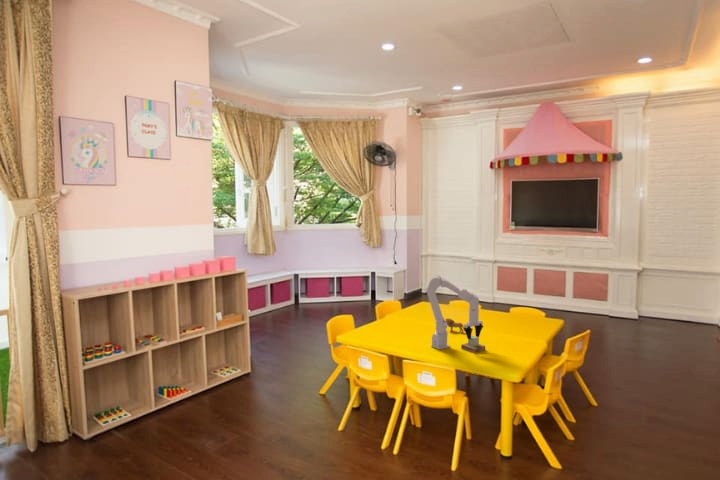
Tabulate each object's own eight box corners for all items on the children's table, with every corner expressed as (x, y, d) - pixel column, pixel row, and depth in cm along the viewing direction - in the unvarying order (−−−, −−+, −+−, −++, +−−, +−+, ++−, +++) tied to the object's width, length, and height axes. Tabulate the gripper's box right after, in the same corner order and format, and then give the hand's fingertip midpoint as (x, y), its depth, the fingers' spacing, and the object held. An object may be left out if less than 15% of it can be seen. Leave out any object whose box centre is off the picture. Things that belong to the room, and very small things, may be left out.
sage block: (473, 346, 270) (473, 338, 269) (468, 344, 273) (468, 336, 273) (478, 345, 272) (478, 337, 272) (473, 343, 276) (473, 335, 275)
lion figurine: (444, 331, 311) (444, 318, 310) (445, 329, 316) (446, 317, 315) (465, 333, 305) (466, 320, 305) (467, 331, 310) (467, 319, 309)
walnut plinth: (473, 353, 266) (473, 349, 265) (461, 349, 274) (461, 344, 274) (485, 350, 271) (485, 345, 271) (472, 346, 280) (472, 341, 279)
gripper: (470, 318, 264) (470, 341, 265) (486, 315, 272) (486, 337, 273) (461, 316, 269) (461, 338, 270) (477, 313, 277) (477, 334, 279)
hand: (473, 337), depth 272 cm, fingers open, 7 cm apart
